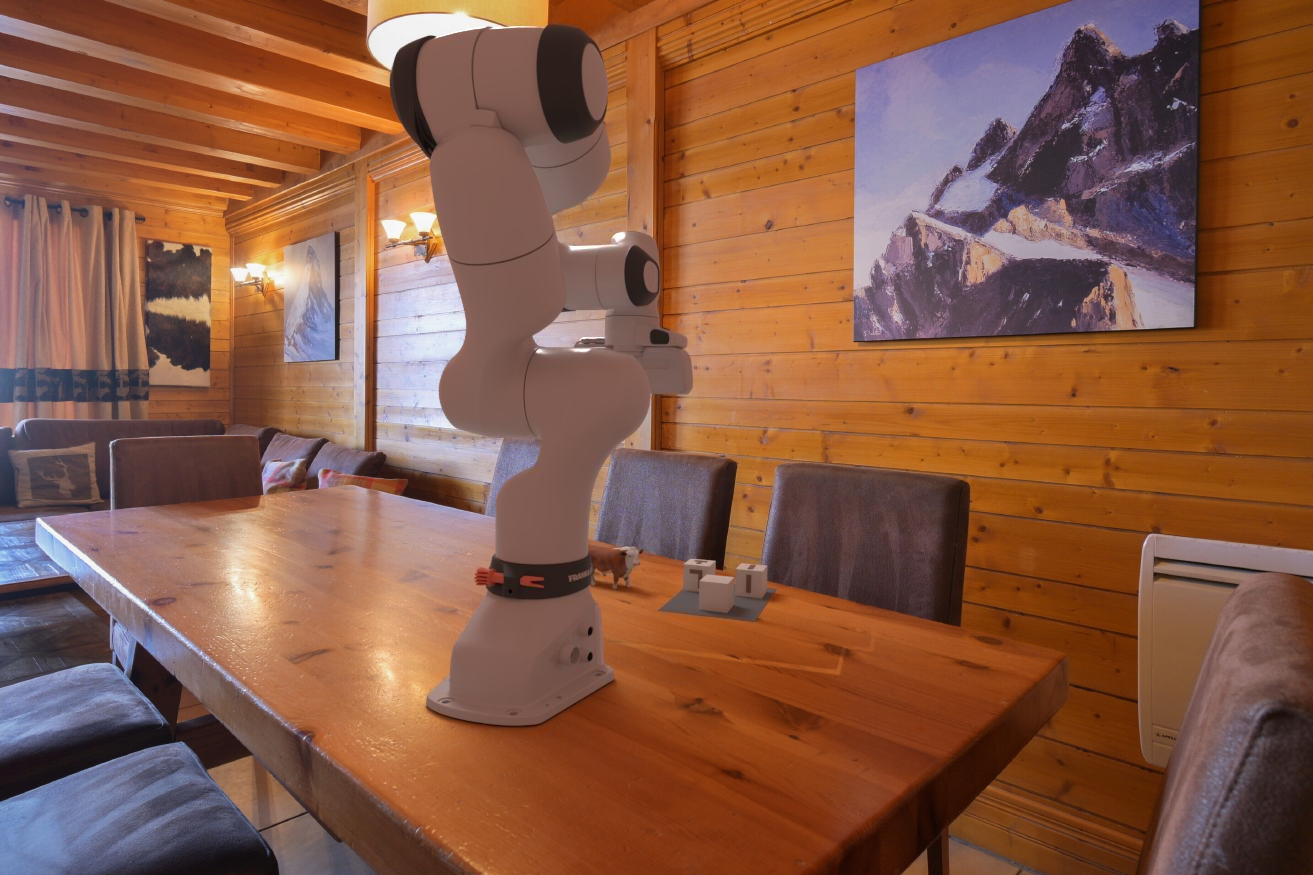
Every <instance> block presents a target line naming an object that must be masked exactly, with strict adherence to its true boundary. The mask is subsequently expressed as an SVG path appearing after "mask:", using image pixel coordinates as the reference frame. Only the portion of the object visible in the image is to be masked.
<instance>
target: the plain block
mask: <svg viewBox="0 0 1313 875" xmlns="http://www.w3.org/2000/svg"><path fill="white" fill-rule="evenodd" d="M734 584H735V576H726V575H716V574H715V575H706V576H704V577H703V578H702V579H701V580H700V581H699V610H706V611H714V612H723V613H728V611H729V610H730V609H731V608H732V607H733V605H734Z"/></svg>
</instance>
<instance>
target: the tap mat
mask: <svg viewBox="0 0 1313 875" xmlns="http://www.w3.org/2000/svg"><path fill="white" fill-rule="evenodd" d="M776 591H777V588H775V587H767V592H766V593H765V595H764V596H763V598H762V599H761V598H751V597H742V596H735V583H734V605H733V607H732V608H731V609H730V610H729V611H728V613H723V612H714V611H706V610H699V592H695V591H685V590H683V588H682V589H681V590H680V591H679V592H677V593H676V594H675V595H674V596H673V597H671V598H670V599H669V600H668V601H667V602H666V603H665V604H664V605H662V606H661V607H660V608H659V609H657V611H659V612H666V613H673V614H674V613H675V614H683V615H692V616H699V617H708V618H715V619H716V618H718V619H724V620H725V619H726V620H735V621H743V622H750V623H755V622H756V621H757V619H758V618H759V616H760V615H761V613H762V611H763V610H764V609H765V607H766V606H767V605H768V602H769V601H770V600H771V598H772V596H773V595H774V594H775V592H776Z"/></svg>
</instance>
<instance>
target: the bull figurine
mask: <svg viewBox="0 0 1313 875" xmlns="http://www.w3.org/2000/svg"><path fill="white" fill-rule="evenodd" d="M588 552H589V553H590V554H591V562H592V582H591V584H590V585H592V586H596V585H597V583H596V578H595V572H596V570H597V571H598V572H600V573H601V574H602V576H603V577H606V576H607V574H612V576H613V585H612V587H611V588H612V589H615V590H616V589H617V590H618V582H619V581H620V579H623V580H624V582H625V587H626V588H631V583H630V575H631V573H632V572H633V568H635V567H639V566H641V561H640V560H639V557H640V556H639V555H641V554H643V552H644V549H643V548H640V549H638V548H637V547H636V546H623V547H614V548H613V547H606V546H600V545H599V546H598V545H595V544H590V543H588Z"/></svg>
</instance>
